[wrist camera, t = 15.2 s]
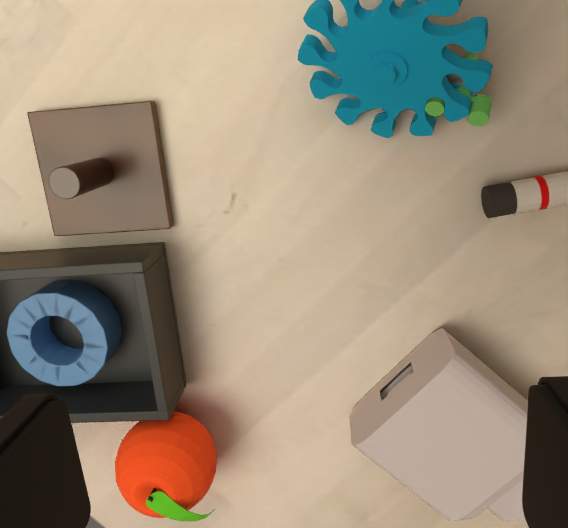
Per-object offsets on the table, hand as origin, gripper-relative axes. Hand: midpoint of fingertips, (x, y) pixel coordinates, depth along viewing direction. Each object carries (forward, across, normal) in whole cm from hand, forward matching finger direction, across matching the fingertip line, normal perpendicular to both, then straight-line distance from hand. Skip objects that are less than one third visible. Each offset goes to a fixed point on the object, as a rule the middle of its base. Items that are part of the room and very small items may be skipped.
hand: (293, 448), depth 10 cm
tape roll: (+24, +18, +7) cm, 30 cm away
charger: (+24, -10, +17) cm, 31 cm away
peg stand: (+24, +14, -4) cm, 28 cm away
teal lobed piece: (+24, -5, -8) cm, 26 cm away
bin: (+24, +18, +7) cm, 31 cm away
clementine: (+24, +11, +17) cm, 32 cm away
